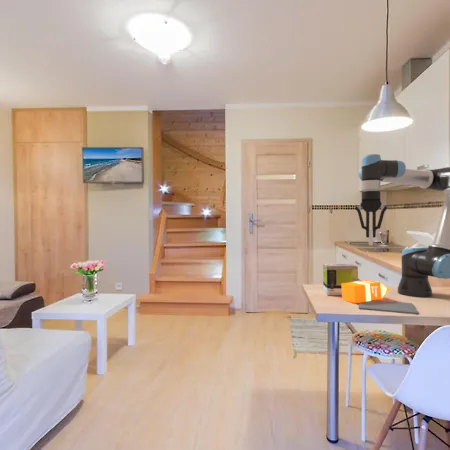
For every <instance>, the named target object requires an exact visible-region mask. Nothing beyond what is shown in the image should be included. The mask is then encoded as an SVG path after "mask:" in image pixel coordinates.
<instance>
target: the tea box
mask: <svg viewBox="0 0 450 450" xmlns="http://www.w3.org/2000/svg"><path fill="white" fill-rule="evenodd" d="M322 271H323V272H322V273H323V275H322V276H323V278H322V281H323V282H322V283H323V285H322V287H323V288H322V289H323V292H324V293H325V294H326V296H342V284H343V283H350V282H357V281H359V268H358V265H355V264H354V263H323V264H322Z"/></svg>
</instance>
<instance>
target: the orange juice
mask: <svg viewBox="0 0 450 450" xmlns="http://www.w3.org/2000/svg"><path fill="white" fill-rule="evenodd" d="M390 290H391V288H389V287H388V286H386V285H385V284H383V283H381V282H380V281H373V280H365V279H364V280H358V281H357V282H350V283H343V284H342V295H341V297H342V300H343V301H346V302H349V303H353V304H358V303H359V302H365V301H371V300H382V299H383V298H384V297H385V296H386V294H387V293H388V292H389V291H390Z"/></svg>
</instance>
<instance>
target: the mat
mask: <svg viewBox="0 0 450 450" xmlns="http://www.w3.org/2000/svg"><path fill="white" fill-rule="evenodd" d="M357 305H358V309H359V310H367V311H377V312H378V311H379V312H391V313H400V314H413V315H419V311H418V310H417V309H416V307H415V306H414V304H413V303H412V302H404V301H402V302H401V301H392V300H381V299H377V300H371V301H365V302H359V303H357Z"/></svg>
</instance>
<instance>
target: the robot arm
mask: <svg viewBox="0 0 450 450" xmlns="http://www.w3.org/2000/svg"><path fill="white" fill-rule="evenodd" d="M358 177H359V180H361V190H362V192H361V202H360V205H358V206H356V207H355V210H356V212H357V215H358V219H359V221H360V226H361V228H362V229H364V230H365V231H366V232H365V236H366V237H365V238H368V246H374V243H373V242H374V238H375V239H376V237H377V233H376V232H377V230H378V229H381V226H382V222H383V219H384V216H385V212H386V211H387V209H388V206H385V205H383V203H382V201H381V191H380V190H381V183H390V184H401V185H408V186H416V187H418V188H421V189H424V190H431V191H437V192H438V191H439V192H443V194H445V197H444V203H443V204H442V209H441V212H440V216H439V220H438V224H437V228H436V231H435V235H434V239H433V243H431V244H430V245H428V247H409V248H403V249H402V252H401V278H400V280H399V283H398V286H397V293H398V294H400V295H403V296H408V297H409V296H410V297H418V298H419V297H420V298H421V297H422V298H425V297H426V298H428V297H432V296H433V289H432V287H431V284H430V280H429V277H434V278H437V279H444V280H447V279H450V166H448V167H442V168H436V169H435V168H434V169H423V170H419V169H412V168H411V169H410V168H407V167H406V164H405V162H404V161H402V160H397V159H395V160H391V159H389V160H387V159H384V160H383V159H382V158H381V155H380V154H376V153H371V154H366V155H363V156H362V157H361V166H360V168H359V170H358ZM362 210H363V211H364V212H365V220H366V221H365V223H364V219H363V216H362ZM378 210H380V214H379V218H378V222H377V223H376V221H377V218H376V217H377V211H378ZM370 213H372V220H371V221H372V222H371V223H372V225H371V227H372V229H370Z"/></svg>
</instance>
